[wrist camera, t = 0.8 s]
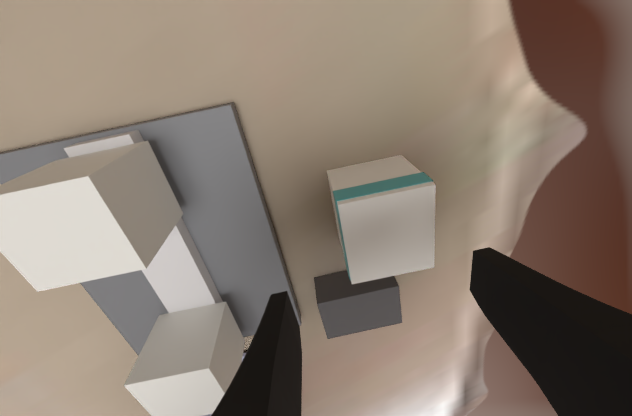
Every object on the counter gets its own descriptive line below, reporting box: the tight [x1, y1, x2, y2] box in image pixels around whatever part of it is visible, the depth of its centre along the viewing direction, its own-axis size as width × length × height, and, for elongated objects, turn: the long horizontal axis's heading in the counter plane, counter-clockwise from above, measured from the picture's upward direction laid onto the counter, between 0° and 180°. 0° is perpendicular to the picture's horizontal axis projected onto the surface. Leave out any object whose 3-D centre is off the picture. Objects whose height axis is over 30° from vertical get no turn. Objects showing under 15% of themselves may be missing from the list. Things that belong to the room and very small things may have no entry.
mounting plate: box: [0, 102, 301, 416], centre depth 17 cm, size 18×14×7 cm
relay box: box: [314, 270, 402, 339], centre depth 23 cm, size 4×6×3 cm, turn 102°
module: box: [327, 155, 436, 284], centre depth 18 cm, size 6×5×5 cm
